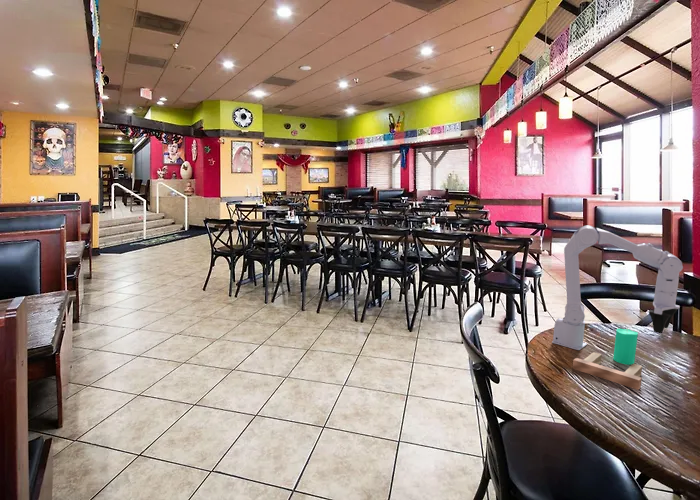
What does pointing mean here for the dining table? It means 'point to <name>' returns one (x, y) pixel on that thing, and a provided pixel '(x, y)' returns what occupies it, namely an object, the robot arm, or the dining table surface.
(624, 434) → the dining table surface
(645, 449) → the dining table surface
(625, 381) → the stand
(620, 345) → the candle
